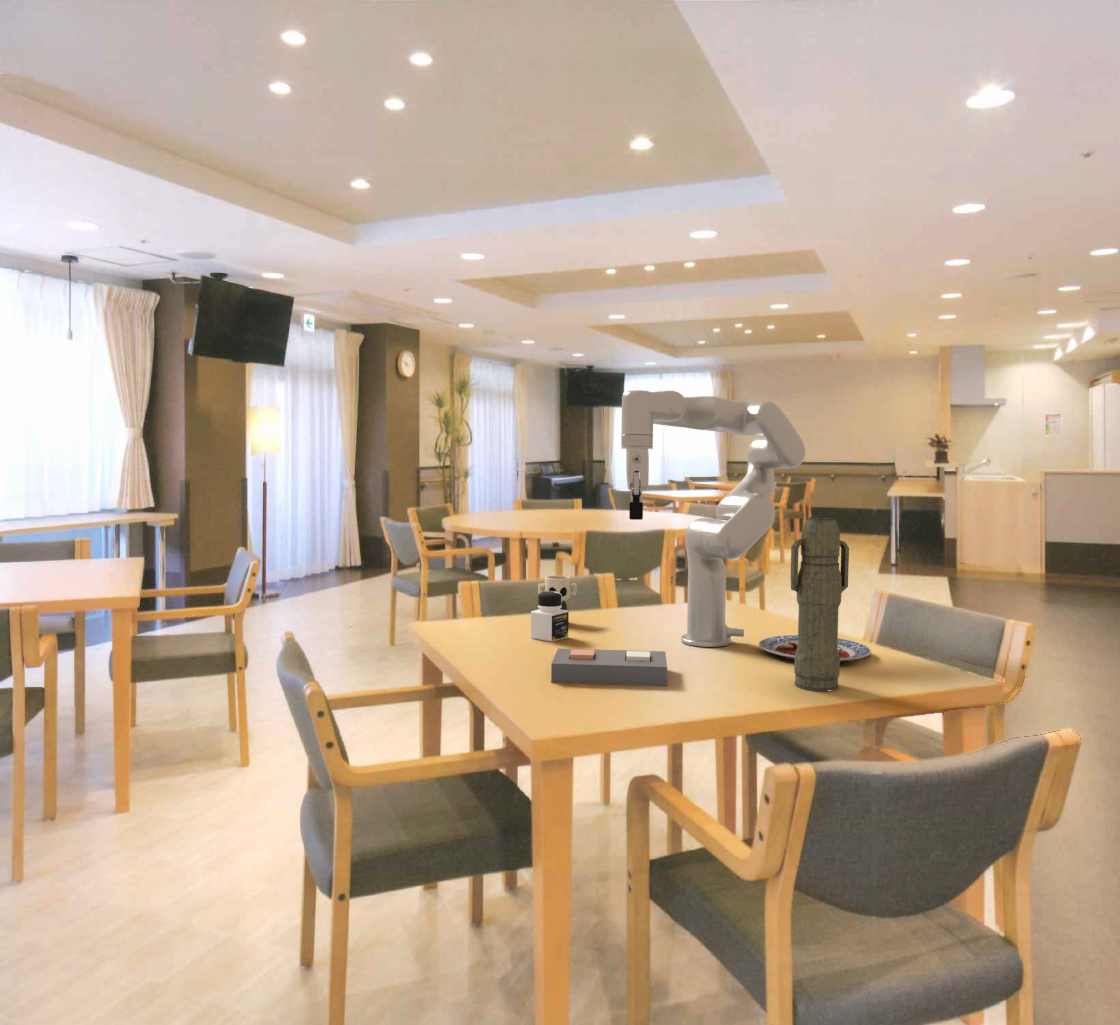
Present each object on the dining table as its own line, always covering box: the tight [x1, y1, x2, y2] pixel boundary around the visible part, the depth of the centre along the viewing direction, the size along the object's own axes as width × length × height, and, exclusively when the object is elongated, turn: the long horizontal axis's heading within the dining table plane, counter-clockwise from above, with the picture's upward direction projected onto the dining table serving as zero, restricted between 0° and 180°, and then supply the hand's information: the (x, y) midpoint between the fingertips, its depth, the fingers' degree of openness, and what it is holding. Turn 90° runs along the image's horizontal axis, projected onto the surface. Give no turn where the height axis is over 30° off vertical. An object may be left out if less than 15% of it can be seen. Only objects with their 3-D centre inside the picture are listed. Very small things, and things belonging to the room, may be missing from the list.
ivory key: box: [626, 650, 650, 662], centre depth 185 cm, size 5×5×3 cm
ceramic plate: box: [758, 634, 872, 663], centre depth 207 cm, size 26×26×3 cm
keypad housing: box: [550, 647, 668, 687], centre depth 186 cm, size 24×14×4 cm, turn 85°
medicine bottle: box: [530, 590, 569, 643], centre depth 223 cm, size 7×7×12 cm
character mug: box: [537, 575, 578, 612], centre depth 243 cm, size 11×7×13 cm, turn 93°
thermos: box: [790, 516, 850, 692], centre depth 178 cm, size 9×12×35 cm
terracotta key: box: [570, 648, 595, 660], centre depth 187 cm, size 5×5×3 cm
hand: (636, 519), depth 207 cm, fingers closed
